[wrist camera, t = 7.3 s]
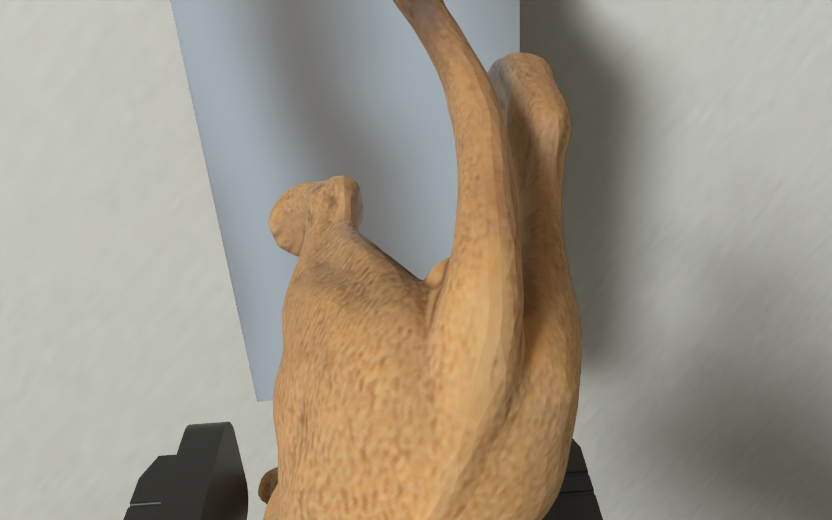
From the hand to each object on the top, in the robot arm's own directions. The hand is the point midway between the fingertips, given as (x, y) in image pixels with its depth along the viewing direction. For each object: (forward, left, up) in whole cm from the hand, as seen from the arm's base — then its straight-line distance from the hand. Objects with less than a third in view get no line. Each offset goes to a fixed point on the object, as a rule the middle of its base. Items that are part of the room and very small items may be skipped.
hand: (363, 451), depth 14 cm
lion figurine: (-1, -1, -1) cm, 2 cm away
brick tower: (0, 0, -20) cm, 20 cm away
